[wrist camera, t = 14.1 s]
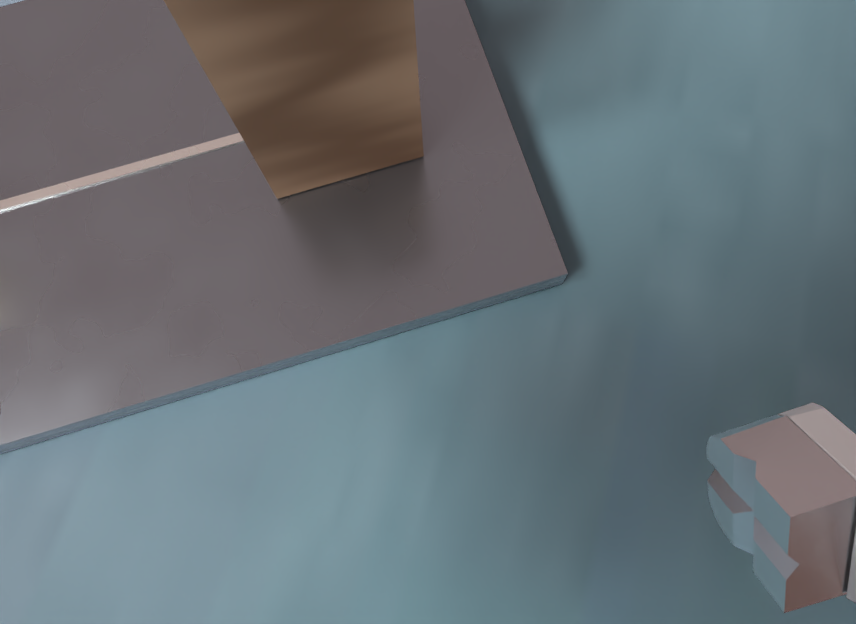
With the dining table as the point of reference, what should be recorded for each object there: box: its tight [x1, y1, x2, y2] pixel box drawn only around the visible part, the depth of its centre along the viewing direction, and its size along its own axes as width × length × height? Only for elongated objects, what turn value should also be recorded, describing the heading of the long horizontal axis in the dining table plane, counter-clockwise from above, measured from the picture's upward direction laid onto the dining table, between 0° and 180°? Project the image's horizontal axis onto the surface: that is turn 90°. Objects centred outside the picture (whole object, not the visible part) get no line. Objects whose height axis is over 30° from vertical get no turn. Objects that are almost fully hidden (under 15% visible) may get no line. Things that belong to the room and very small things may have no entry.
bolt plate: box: [0, 0, 568, 454], centre depth 19 cm, size 24×14×6 cm, turn 107°
